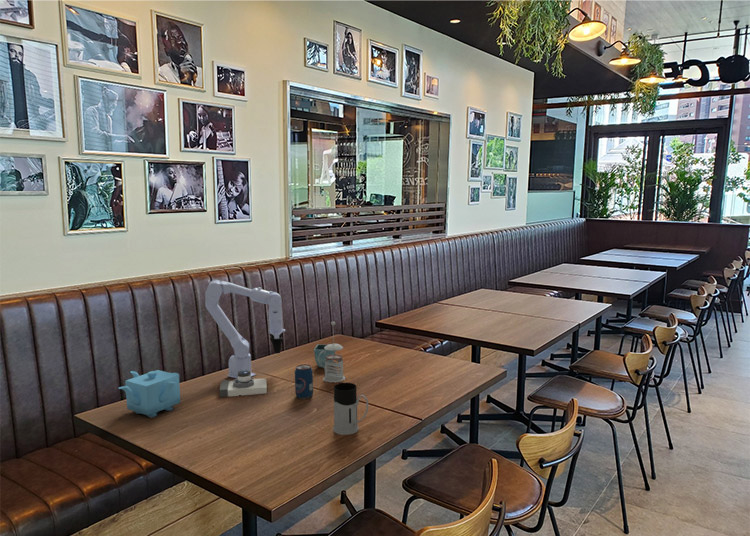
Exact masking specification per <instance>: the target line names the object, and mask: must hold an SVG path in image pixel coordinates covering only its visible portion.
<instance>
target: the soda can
mask: <svg viewBox="0 0 750 536" xmlns="http://www.w3.org/2000/svg"><path fill="white" fill-rule="evenodd" d="M313 373H314V371H313V368H312V366H311V365H310V364H306V363H305V364H299V365H296V367H295V370H294V394H295V395H296V398H298V399H300V400H304V399H305V398H307V399H309V398H311V397H312V396H313V394H314V375H313Z"/></svg>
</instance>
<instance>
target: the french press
mask: <svg viewBox="0 0 750 536" xmlns="http://www.w3.org/2000/svg"><path fill="white" fill-rule="evenodd" d="M330 324H331V325H332V336H333V337H332V341H333V343H329V344H326V345H327V346H325V347H324V349H325V350H328V351H335V352H338V351H341V350H343V349H344V347H343V346H342V345H341V344H339V343H335V336H334V335H335V334H334V333H335V331H334V326H335V325H336V322H335V321H331V322H330ZM325 350H323V352H324V351H325ZM321 353H322V351H321V352H320V354H321ZM320 354H319V356H320ZM324 354H325V352H324ZM319 356H318V362H319V365H320V364H321V363H320V361H319ZM330 360H333V361H332V362H329V361H330ZM328 362H329V363H328ZM321 365H322V364H321ZM321 365H320V366H321ZM328 365H329V366H328ZM322 366H323V365H322ZM322 366H321V367H320V368H323V369H324V377H323V378H322V380H323V381H324V382H327V383H332V382H334V383H342V382H343V380H344V381H346V379H345V378H346V376H345V375H344V359H343V356H342V355H341V354H338V353H337V354H336V353H335V354H331V355H327V356H326V360H325V366H324V367H322Z"/></svg>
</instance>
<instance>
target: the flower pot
mask: <svg viewBox="0 0 750 536" xmlns="http://www.w3.org/2000/svg"><path fill="white" fill-rule="evenodd" d="M327 345H328V344H320V343H319V344H316V346H315V347H314V349H313V355H314V360H315V363H316V365H317V366H318V368H323V367H324V366H325V360H326V356H327V355H331V354H336V351H328V350H325V349H324V347H325V346H327ZM323 350H325V351H324V352H325V354H324V352H323ZM321 351H322V353H321V354H320V352H321ZM319 354H320V356H319ZM318 356H319V361H320V363H321V364H322V365H323V366H322V365H321V364H320V365H321V366H322V367H321V366H320V365H319V362H318ZM332 361H334V360H330V361H329V362H332ZM329 362H328V363H329ZM328 366H329V365H328ZM324 368H325V367H324Z"/></svg>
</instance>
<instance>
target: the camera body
mask: <svg viewBox="0 0 750 536" xmlns="http://www.w3.org/2000/svg"><path fill="white" fill-rule="evenodd" d="M220 381H221V382H220V388H219V398H227V397H228V396H229V397H239V395H241V396H250V395H253V396H254V395H262V394H267V393H268V390H267V389H268V387H267V378H266V377H263V378H252V377H251V382H249V383H244V384H239V383H238V379H237V378H235V379H233V380H230V379H223V380H220Z"/></svg>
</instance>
